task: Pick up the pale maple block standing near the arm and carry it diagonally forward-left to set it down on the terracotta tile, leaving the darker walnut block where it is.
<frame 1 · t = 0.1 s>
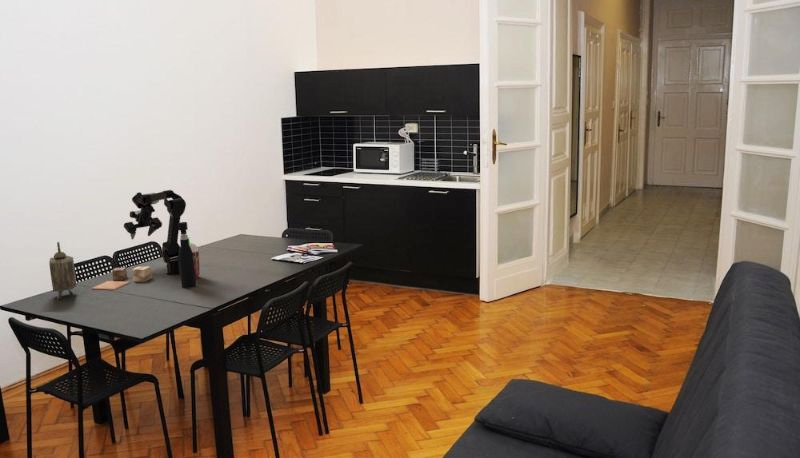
hand: (140, 237, 365), 15 cm above the table, tool tilted 35°, fingers open, 9 cm apart
maple block: (142, 279, 337), on the table
walnut block: (120, 278, 341), on the table
terracotta tile: (111, 286, 328), on the table
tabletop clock: (66, 296, 314), on the table
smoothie: (192, 278, 337), on the table
wine bottle: (189, 286, 322), on the table
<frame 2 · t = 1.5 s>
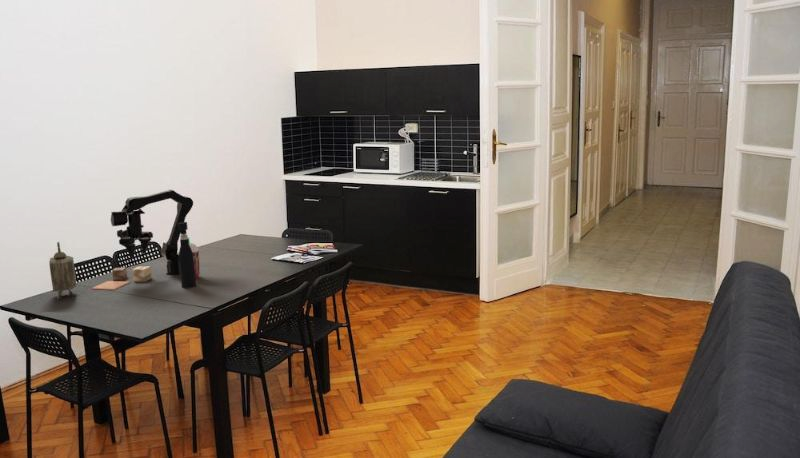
hand: (138, 255, 336), 12 cm above the table, tool pointing down, fingers open, 9 cm apart
nothing on the table moved.
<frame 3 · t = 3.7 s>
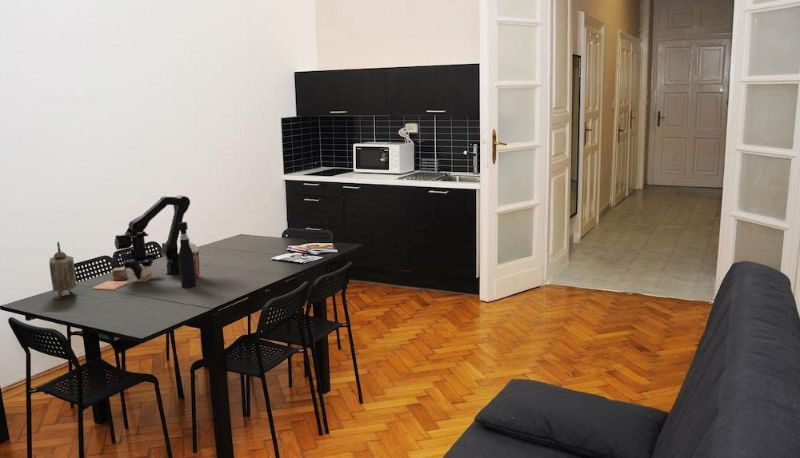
hand: (142, 277, 337), 1 cm above the table, tool pointing down, fingers closed on maple block, 6 cm apart
maple block: (142, 279, 337), on the table, touching gripper
everything else where it was.
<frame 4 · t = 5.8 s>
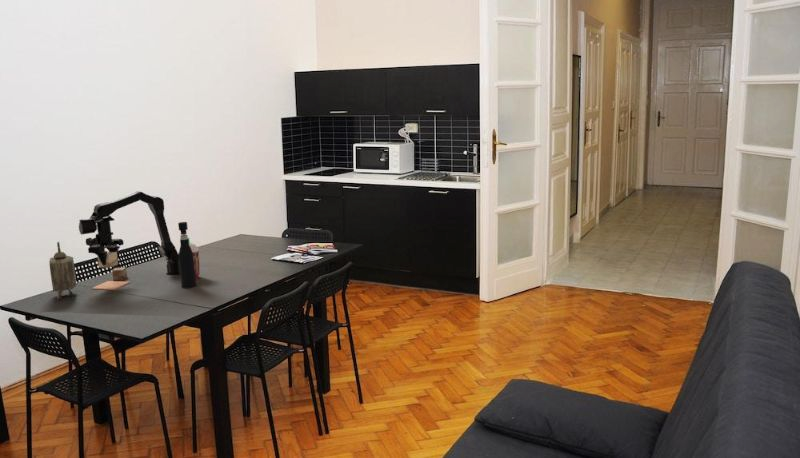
hand: (108, 263, 326), 11 cm above the table, tool pointing down, fingers closed on maple block, 6 cm apart
maple block: (108, 265, 326), point 10 cm above the table, touching gripper
everything else where it was.
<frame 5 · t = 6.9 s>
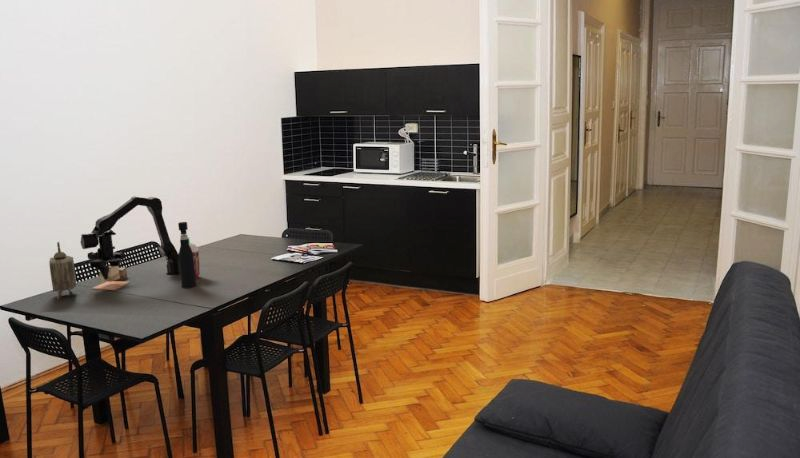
hand: (110, 277, 327), 4 cm above the table, tool pointing down, fingers closed on maple block, 6 cm apart
maple block: (110, 279, 327), point 3 cm above the table, touching gripper
everything else where it was.
when the fingers open (3 cm above the table, at t = 8.0 s): maple block drops 2 cm, resting on terracotta tile.
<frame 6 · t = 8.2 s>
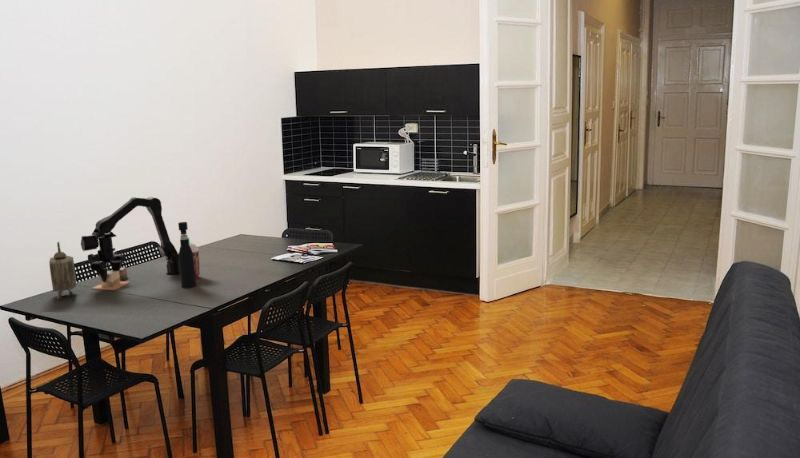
hand: (110, 279, 327), 3 cm above the table, tool pointing down, fingers open, 8 cm apart
maple block: (111, 284, 328), point 1 cm above the table, touching terracotta tile
everything else where it was.
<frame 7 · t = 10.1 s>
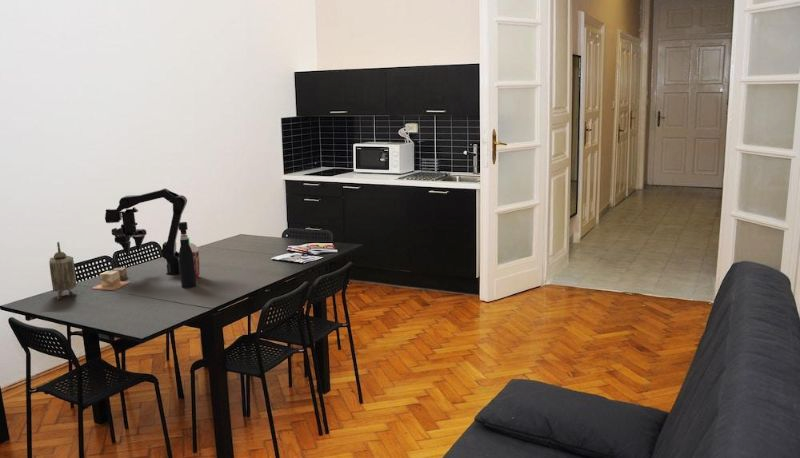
hand: (132, 252, 343), 12 cm above the table, tool pointing down, fingers open, 9 cm apart
nothing on the table moved.
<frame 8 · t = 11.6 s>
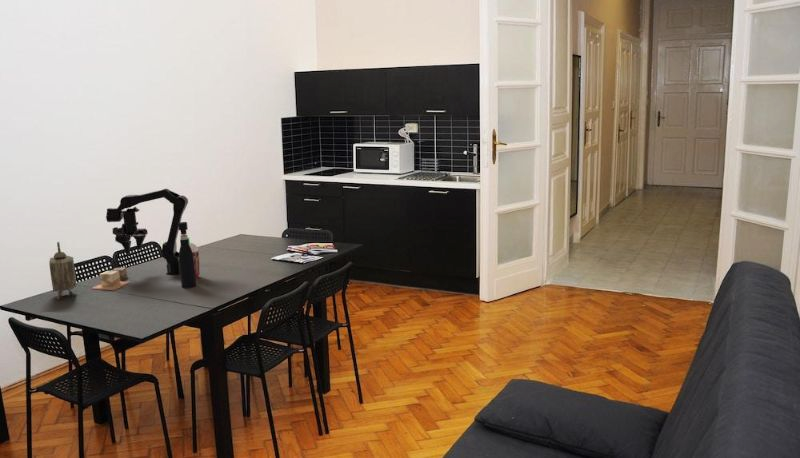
hand: (133, 252, 343), 12 cm above the table, tool pointing down, fingers open, 9 cm apart
nothing on the table moved.
at the end: maple block inside the target area on the terracotta tile (0.1 cm from its centre), point 0.6 cm above the terracotta tile's base; maple block tilted 0°; the gripper is holding nothing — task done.
